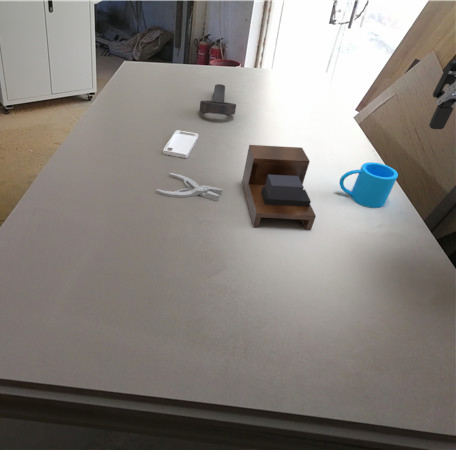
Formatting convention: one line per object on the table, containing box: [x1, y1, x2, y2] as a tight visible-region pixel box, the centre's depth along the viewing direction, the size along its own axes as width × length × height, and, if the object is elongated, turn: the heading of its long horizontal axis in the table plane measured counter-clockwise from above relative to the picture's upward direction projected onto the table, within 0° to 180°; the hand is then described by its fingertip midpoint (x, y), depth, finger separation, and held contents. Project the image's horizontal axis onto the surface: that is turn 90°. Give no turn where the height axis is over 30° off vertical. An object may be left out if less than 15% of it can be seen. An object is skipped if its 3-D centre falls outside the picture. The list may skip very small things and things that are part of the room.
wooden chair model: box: [241, 144, 316, 231], centre depth 95 cm, size 13×19×11 cm
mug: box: [338, 162, 399, 209], centre depth 100 cm, size 12×8×8 cm
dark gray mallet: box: [199, 83, 237, 115], centre depth 146 cm, size 12×8×30 cm
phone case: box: [162, 129, 199, 159], centre depth 121 cm, size 7×1×15 cm
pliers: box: [156, 172, 223, 202], centre depth 101 cm, size 10×2×15 cm
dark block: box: [261, 174, 312, 207], centre depth 92 cm, size 10×5×5 cm, turn 88°
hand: (449, 139), depth 65 cm, fingers open, 8 cm apart
